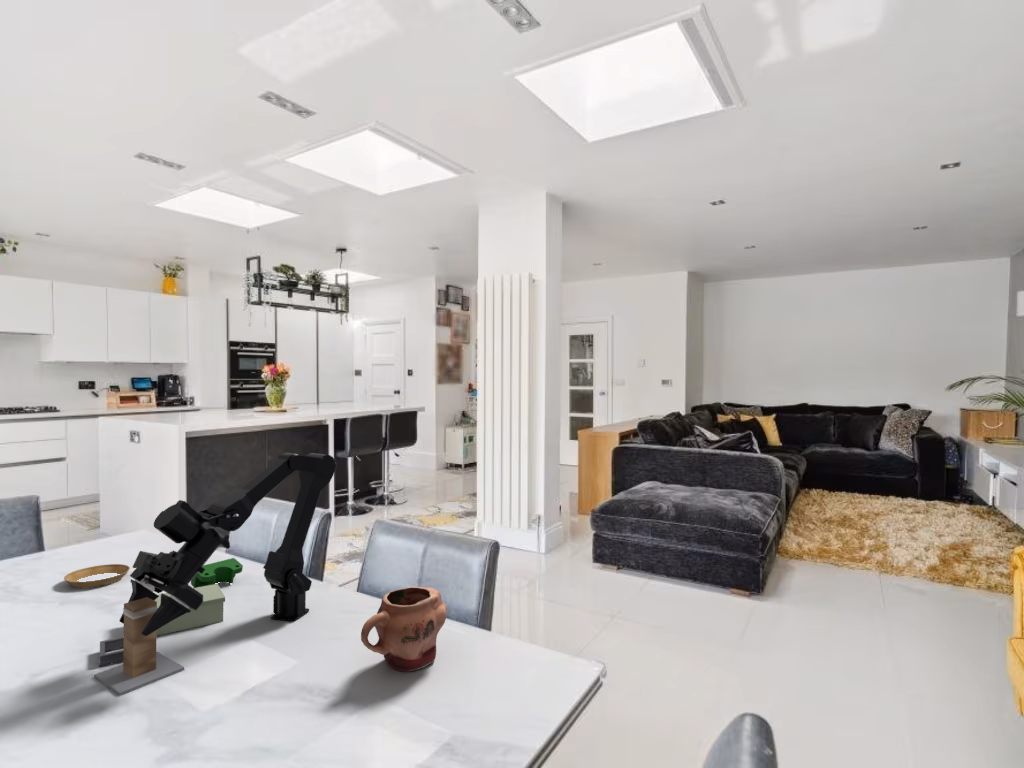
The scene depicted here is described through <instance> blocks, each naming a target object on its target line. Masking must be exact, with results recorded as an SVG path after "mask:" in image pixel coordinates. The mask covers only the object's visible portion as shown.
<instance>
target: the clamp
mask: <svg viewBox="0 0 1024 768" xmlns="http://www.w3.org/2000/svg"><path fill="white" fill-rule="evenodd" d="M202 567H203V568H204V569H205V570H204V572H203V573H202V574H201V573H197V574H196V575H195V576H194V577H193V579H192V580H191V581H190V584H191V585H190V586H191V587H192V588H197V587H203V586H208V585H214V584H215V583H218V582H222V583H226V582H229V583H233V584H234V578H236V575H237V574H241V573H242V572H243V569H244V568H243V567H244V565H243V564H242V563H241V562H239V561H238V560H237V559H236V558H235V557H232V558H228V559H227V558H226V559H224V560H221V561H220V560H219V561H216V562H212V563H208V564H204V565H203V566H202ZM229 583H228V584H229ZM218 584H219V583H218Z"/></svg>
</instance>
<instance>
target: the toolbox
mask: <svg viewBox="0 0 1024 768" xmlns="http://www.w3.org/2000/svg"><path fill="white" fill-rule="evenodd" d="M192 588H193V589H195V590H196V591H198V592H199V593H201V594H202V595H203V603H202V604H201V605H200V607H199V608H198V609H197V610H194V609H192V608H189V610H191V612H190V613H185V614H184V615H182V616H180V617H178V618H176V619H174V620H173V621H171V622H169V623H167V624H166V625H164V626H162V627H161V628H159V629H157V635H156V637H157V636H162V635H165V634H170V633H175V632H176V633H177V632H181V631H185V630H189V629H194V628H199V627H202V626H207V625H212V624H217V623H221V622H224V603H225V602H226V597H225V594H224V593H223V591H222V589H221V587H220V586H219V583H218V584H214V585H208V586H203V587H197V588H194V587H192ZM163 594H165V595H167V596H169V597H170V594H168V593H166V592H165V593H163ZM157 595H158V596H159V597H158V598H157V599H155V600H154V601H156V602H157V609H158V607H159V606H160V604H161V593H157Z"/></svg>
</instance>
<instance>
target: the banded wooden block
mask: <svg viewBox="0 0 1024 768" xmlns="http://www.w3.org/2000/svg"><path fill="white" fill-rule="evenodd" d="M156 610H157V602H156V601H154V600H152V599H150V598H148V597H146V598H142V599H139V600H135V601H132V602H126V603H123V612H122V614H124V624H123V637H124V647H123V648H122V650H123V661H122V664H123V672H124V673H126V674H127V675H129V676H130V677H132V678H135V677H138V676H140V675H143V674H145V673H148V672H150V671H153V670H155V669H156V652H157V636H158V635H157V630H156V631H154V632H153V633H151V634H149V635H148V636H144V635H143V634H142V631H143V629H144V628H145V626H146V625H147V623H148V622H149V620H150V619H151V617H152V616H153V615H154V613H155V612H156ZM156 635H157V636H156Z"/></svg>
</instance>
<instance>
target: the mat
mask: <svg viewBox="0 0 1024 768" xmlns="http://www.w3.org/2000/svg"><path fill="white" fill-rule="evenodd" d="M182 671H185V666H183V665H181V664H180V663H178V662H176V661H174V660H173V659H171V658H170V657H168V656H166V655H164V654H163V653H161V652H159V651H156V669H155V670H153V671H150V672H148V673H145V674H143V675H140V676H138V677H135V678H132V677H130V676H129V675H127V674H126V673H124V672H123V663H121V664H119V665H117V666H114V667H110V668H108V669H105V670H103V671H100V672H97V673H94V674H93V678H95V679H96V680H97V681H99V682H100V683H102V684H103V685H104V686H106V688H107V687H108V689H110V690H111V691H113V692H114V693H116V694H117V695H119V697H120V696H123V695H126V694H127V693H130V692H132V691H135V690H138V689H139V688H142V687H145V686H148V685H150V684H152V683H153V684H154V683H155V682H157V681H160V680H163V679H165V678H168V677H170V676H173V675H175V674H177V673H179V672H182Z"/></svg>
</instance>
